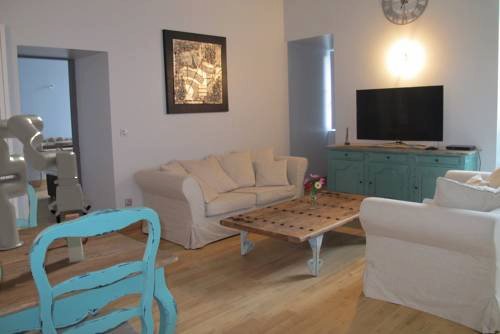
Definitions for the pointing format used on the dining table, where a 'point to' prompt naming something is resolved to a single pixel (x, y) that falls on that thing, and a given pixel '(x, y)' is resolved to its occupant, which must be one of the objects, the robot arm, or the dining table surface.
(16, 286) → the dining table surface
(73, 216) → the terracotta brick
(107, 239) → the dining table surface
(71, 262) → the build mat
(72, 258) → the cream brick
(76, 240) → the sage brick
